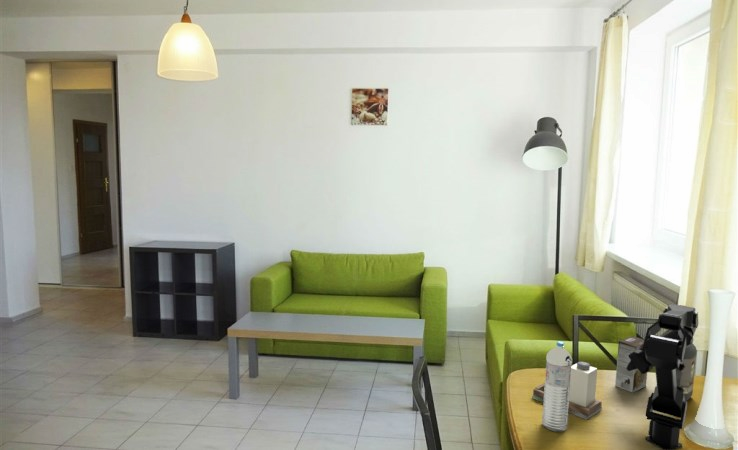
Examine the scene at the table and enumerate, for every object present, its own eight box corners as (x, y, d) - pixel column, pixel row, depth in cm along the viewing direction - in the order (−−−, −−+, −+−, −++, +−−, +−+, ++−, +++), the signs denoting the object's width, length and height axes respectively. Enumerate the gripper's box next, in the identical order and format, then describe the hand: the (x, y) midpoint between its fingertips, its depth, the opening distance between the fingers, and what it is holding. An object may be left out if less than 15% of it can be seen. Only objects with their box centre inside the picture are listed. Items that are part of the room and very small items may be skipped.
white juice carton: (594, 405, 157) (597, 364, 156) (585, 411, 153) (588, 369, 152) (575, 398, 162) (578, 358, 160) (566, 404, 158) (569, 363, 156)
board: (601, 409, 158) (602, 400, 157) (586, 419, 151) (587, 410, 151) (547, 389, 171) (548, 380, 171) (532, 398, 164) (532, 389, 164)
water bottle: (547, 418, 152) (552, 336, 149) (570, 426, 147) (576, 342, 144) (538, 427, 146) (543, 342, 143) (562, 435, 142) (568, 348, 139)
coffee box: (628, 379, 180) (631, 335, 178) (646, 386, 175) (650, 341, 173) (614, 386, 175) (617, 340, 173) (632, 393, 170) (637, 346, 168)
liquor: (653, 394, 169) (662, 306, 165) (663, 386, 175) (671, 301, 172) (684, 404, 162) (694, 312, 159) (693, 396, 169) (703, 307, 165)
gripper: (680, 377, 136) (634, 402, 146) (702, 360, 149) (657, 385, 158) (650, 340, 141) (607, 367, 151) (674, 328, 154) (632, 353, 163)
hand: (627, 369), depth 155 cm, fingers closed
